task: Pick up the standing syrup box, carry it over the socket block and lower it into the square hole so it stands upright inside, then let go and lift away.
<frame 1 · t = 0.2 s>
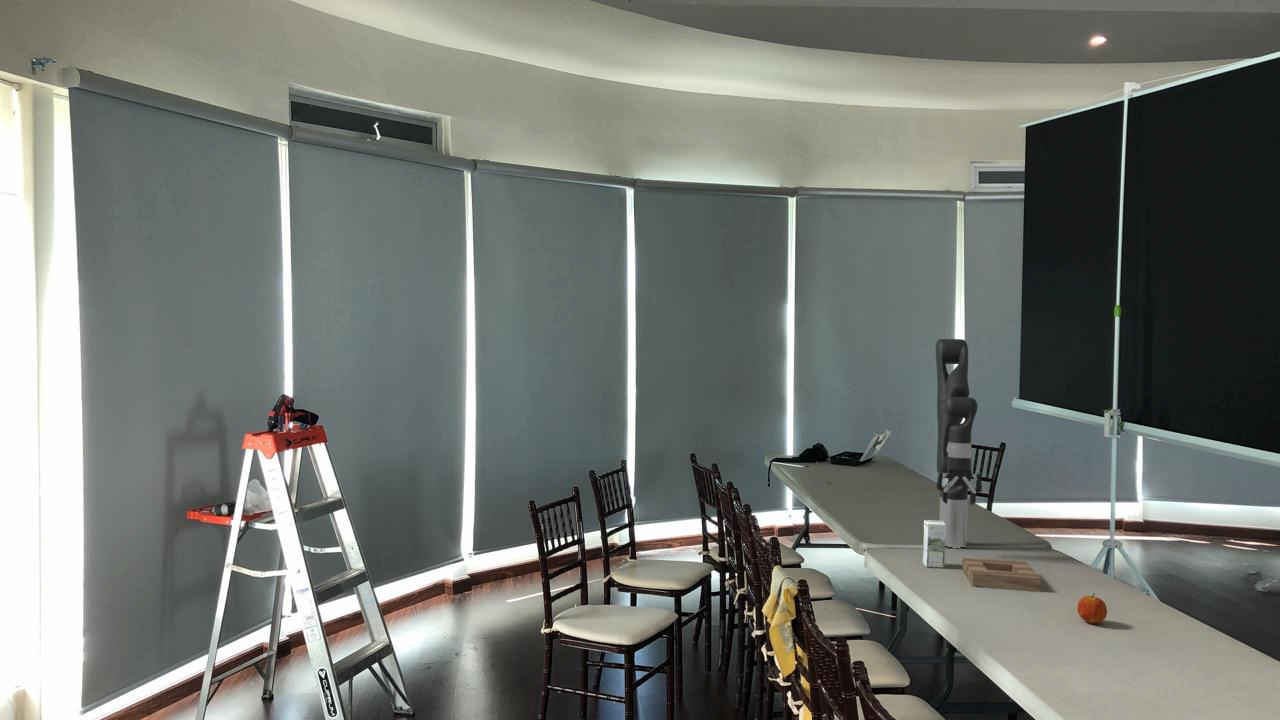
hand: (958, 503, 297), 18 cm above the table, tool pointing down, fingers open, 8 cm apart
socket block: (999, 580, 269), on the table
syrup box: (933, 566, 284), on the table
fruit: (1091, 623, 230), on the table
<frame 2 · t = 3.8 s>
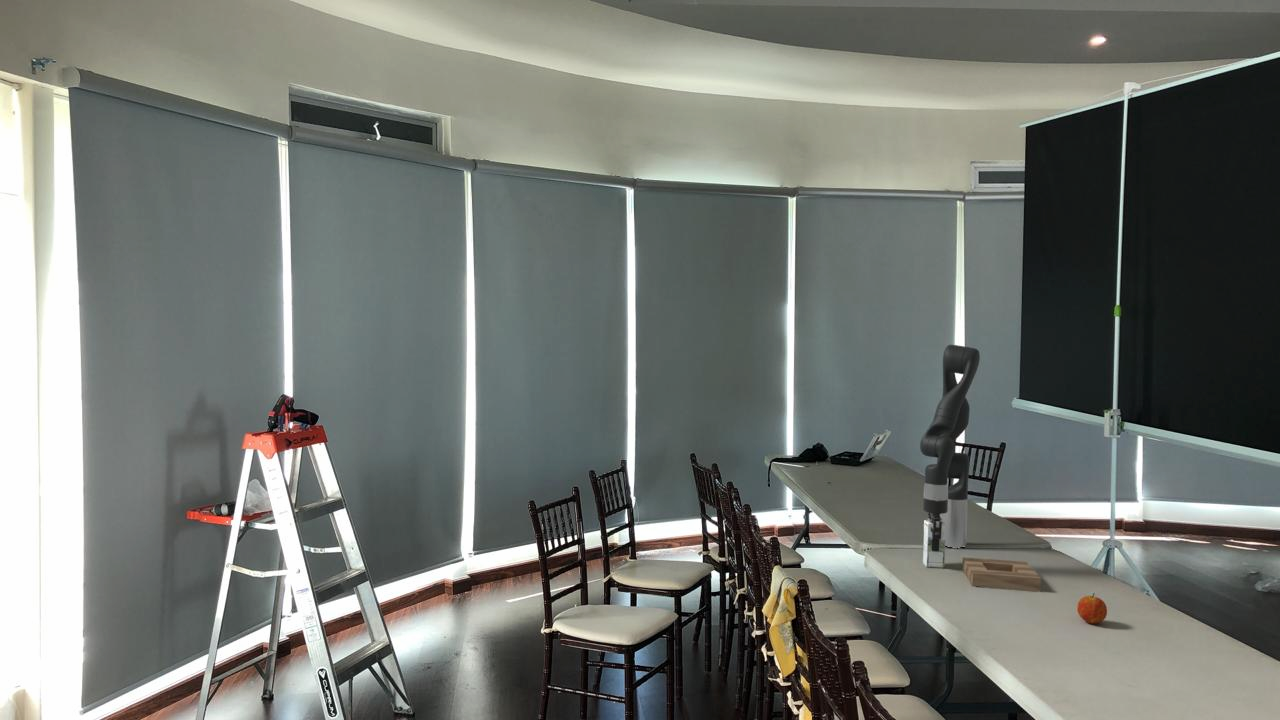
hand: (934, 548, 284), 6 cm above the table, tool pointing down, fingers closed on syrup box, 6 cm apart
syrup box: (933, 566, 284), on the table, touching gripper
everything else where it was.
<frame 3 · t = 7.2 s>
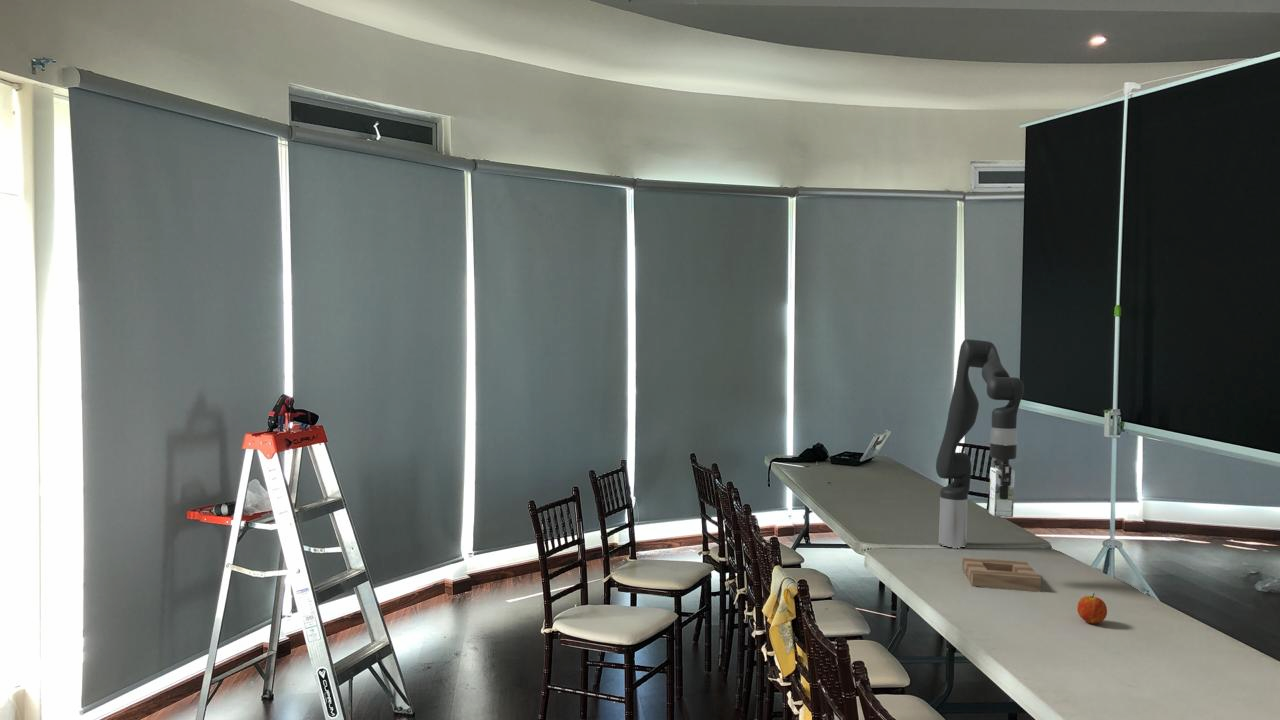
hand: (1001, 496, 268), 26 cm above the table, tool pointing down, fingers closed on syrup box, 6 cm apart
syrup box: (1000, 515, 268), point 20 cm above the table, touching gripper
everything else where it was.
when the fingers open (7 cm above the table, at t = 10.9 s): syrup box drops 1 cm, resting in socket block.
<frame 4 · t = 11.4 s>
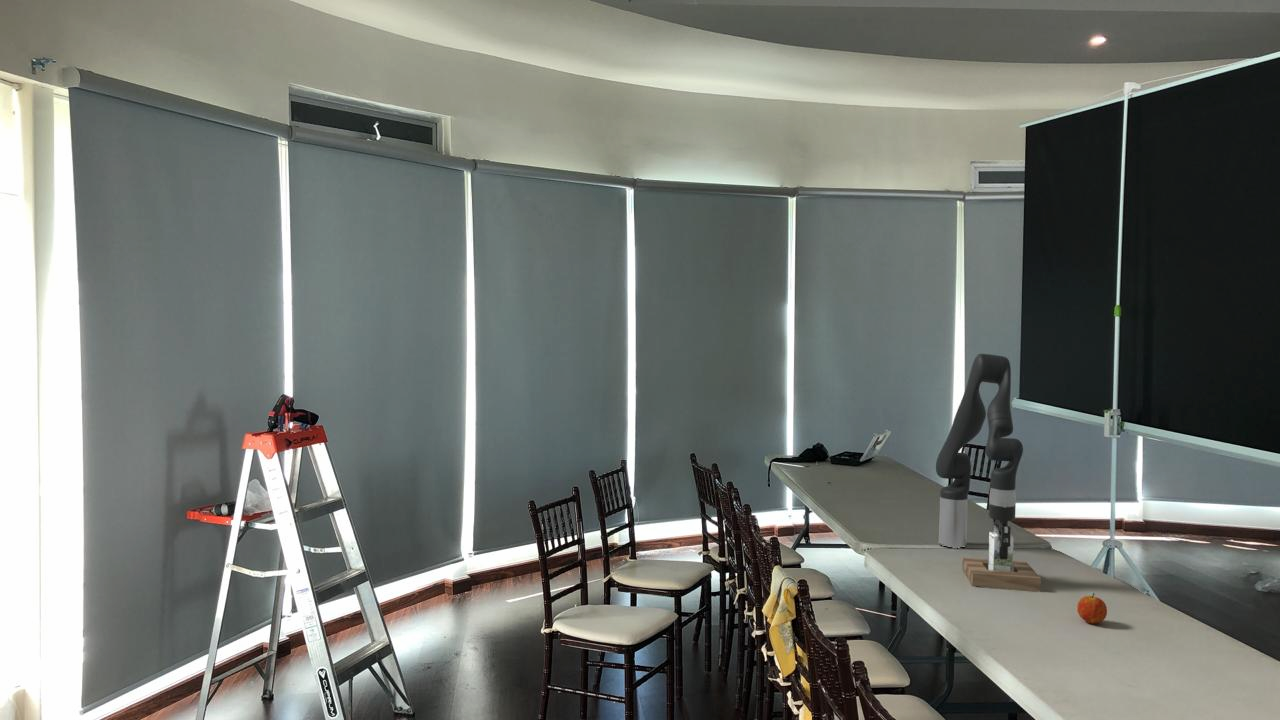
hand: (1000, 555, 269), 8 cm above the table, tool pointing down, fingers open, 8 cm apart
syrup box: (999, 581, 269), resting in socket block
everything else where it was.
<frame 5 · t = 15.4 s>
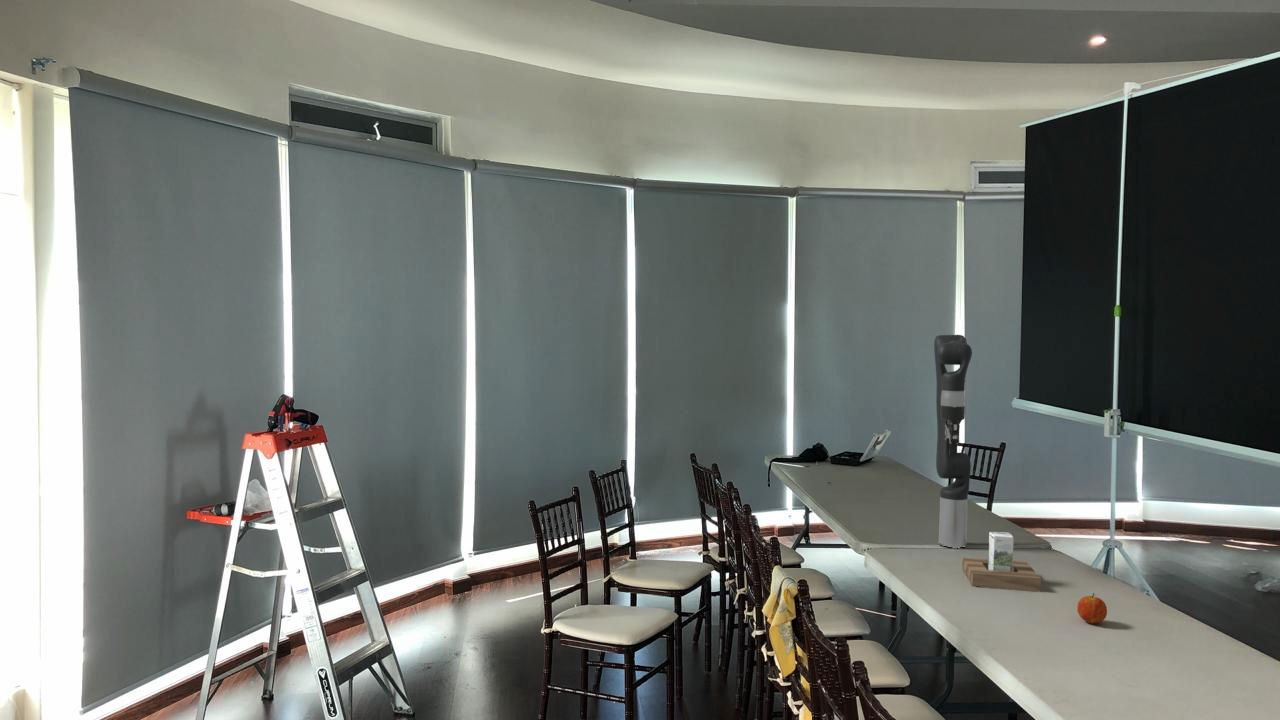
hand: (951, 454, 286), 36 cm above the table, tool pointing down, fingers open, 8 cm apart
nothing on the table moved.
at the end: syrup box 0.2 cm off-centre on the socket block, point 0.0 cm above the socket block's base; syrup box tilted 0°; the gripper is holding nothing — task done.
